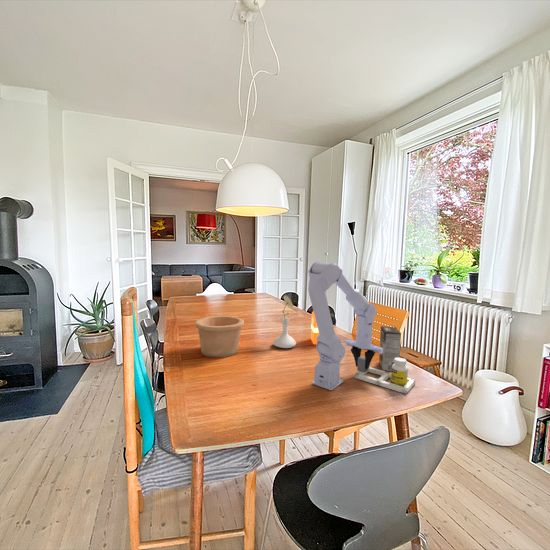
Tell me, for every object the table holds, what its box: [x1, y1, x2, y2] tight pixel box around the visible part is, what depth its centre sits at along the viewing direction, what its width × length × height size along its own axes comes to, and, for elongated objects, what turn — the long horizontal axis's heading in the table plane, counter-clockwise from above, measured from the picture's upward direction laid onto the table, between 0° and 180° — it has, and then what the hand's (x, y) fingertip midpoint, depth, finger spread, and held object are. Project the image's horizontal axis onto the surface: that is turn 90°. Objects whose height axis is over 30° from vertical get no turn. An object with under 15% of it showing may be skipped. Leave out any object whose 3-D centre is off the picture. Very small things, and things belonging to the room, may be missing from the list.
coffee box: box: [378, 325, 402, 372], centre depth 126 cm, size 9×6×16 cm
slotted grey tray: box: [354, 355, 416, 394], centre depth 113 cm, size 10×20×6 cm, turn 50°
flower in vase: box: [272, 295, 297, 349], centre depth 149 cm, size 13×11×25 cm
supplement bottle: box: [390, 357, 409, 387], centre depth 109 cm, size 5×5×10 cm
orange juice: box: [310, 310, 319, 345], centre depth 157 cm, size 8×9×20 cm
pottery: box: [194, 315, 245, 359], centre depth 140 cm, size 22×22×14 cm
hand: (362, 367), depth 118 cm, fingers open, 3 cm apart
